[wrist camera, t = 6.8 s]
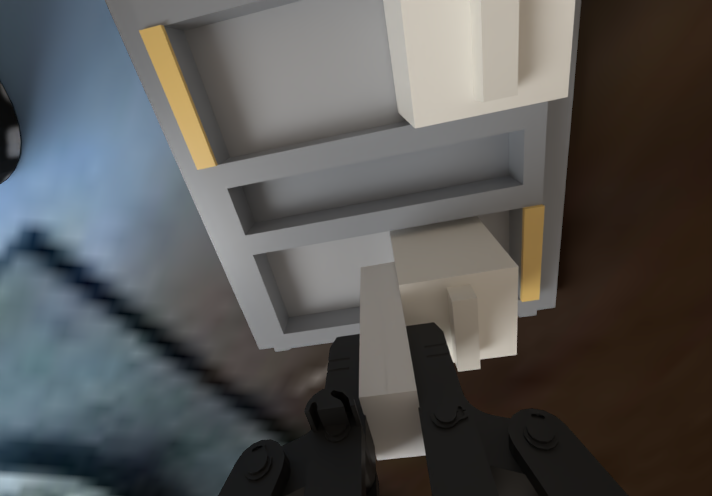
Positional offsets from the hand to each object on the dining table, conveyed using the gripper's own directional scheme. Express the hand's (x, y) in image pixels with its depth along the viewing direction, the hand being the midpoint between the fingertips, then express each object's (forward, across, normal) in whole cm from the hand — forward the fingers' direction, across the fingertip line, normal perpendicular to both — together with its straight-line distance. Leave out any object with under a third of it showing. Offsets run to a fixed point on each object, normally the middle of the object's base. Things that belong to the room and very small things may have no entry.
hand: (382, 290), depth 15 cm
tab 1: (+2, +4, +9) cm, 10 cm away
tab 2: (+2, +3, 0) cm, 4 cm away
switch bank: (+4, 0, +4) cm, 6 cm away
